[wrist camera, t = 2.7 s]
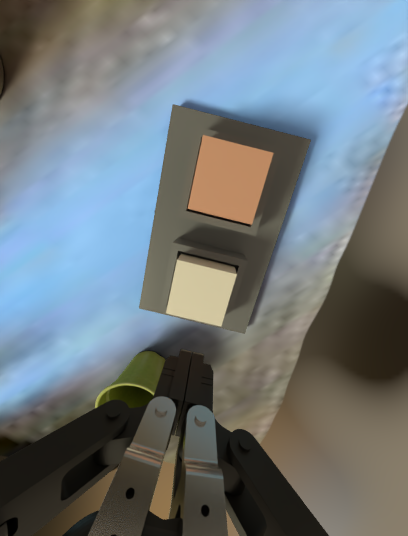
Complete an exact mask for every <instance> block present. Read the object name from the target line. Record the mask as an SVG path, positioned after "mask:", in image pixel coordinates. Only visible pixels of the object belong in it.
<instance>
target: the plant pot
mask: <svg viewBox="0 0 408 536" xmlns="http://www.w3.org/2000/svg"><path fill="white" fill-rule="evenodd" d="M164 363H165V359H164V358H163V357H161V356H159V355H158V354H157V353H156V352H153V351H144V352H141V353H139V354H137V355H136V356H135V357H134V358H133V360H132V361H131V362H130V363H129V365H128V366H127V367H126V369H125V370H124V371H123V372H122V374H121V375H120V376H119V377H118V379H117V380H116V381H115V382H113V383H112V384H111V385H110V386H108V387H106V388H105V389H104V390H103V391H102V392H101V393H100V394H99V396H98V397H97V400H96V403H95V408H97V407H99V406H100V405H102V404H104V403H106V402H108V401H110V400H122V401H124V402H125V403H126V404H127V405H128V407H129V408H135V407H141V406H144V405H146V404H148V403H149V402H150V401H151V400H152V398H153V396H154V393H155V390H156V387H157V384H158V381H159V378H160V375H161V372H162V369H163V366H164Z"/></svg>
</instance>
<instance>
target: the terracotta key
mask: <svg viewBox="0 0 408 536" xmlns="http://www.w3.org/2000/svg"><path fill="white" fill-rule="evenodd" d="M272 157H273V153H272V152H268V151H264V150H260V149H256V148H252V147H249V146H245V145H241V144H237V143H233V142H229V141H225V140H221V139H217V138H213V137H209V136H205V135H203V137H202V142H201V147H200V152H199V156H198V161H197V166H196V171H195V176H194V180H193V185H192V190H191V195H190V200H189V204H188V209H191V210H195V211H199V212H203V213H207V214H211V215H215V216H219V217H223V218H227V219H231V220H235V221H239V222H243V223H247V224H251V225H252V223H253V220H254V216H255V213H256V210H257V206H258V203H259V200H260V196H261V193H262V190H263V187H264V183H265V180H266V177H267V173H268V170H269V167H270V163H271V160H272Z"/></svg>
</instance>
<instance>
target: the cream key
mask: <svg viewBox="0 0 408 536" xmlns="http://www.w3.org/2000/svg"><path fill="white" fill-rule="evenodd" d="M236 276H237V273H236V270H235V267H234V266H230V265H226V264H222V263H218V262H214V261H210V260H206V259H202V258H197V257H193V256H189V255H185V254H181V255H180V256H179V258H178V259H177V262H176V267H175V272H174V277H173V281H172V286H171V291H170V296H169V301H168V305H167V310H166V314H171V315H175V316H179V317H183V318H187V319H191V320H195V321H200V322H204V323H208V324H212V325H216V326H220V327H221V326H222V322H223V319H224V316H225V312H226V309H227V306H228V302H229V299H230V296H231V292H232V289H233V286H234V283H235V279H236Z"/></svg>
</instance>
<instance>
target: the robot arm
mask: <svg viewBox="0 0 408 536" xmlns="http://www.w3.org/2000/svg"><path fill="white" fill-rule="evenodd" d="M3 81H4V73H3V65H2V61H1V58H0V95H1V92H2V88H3ZM191 353H192V356H191ZM203 358H204V354H200V353H196V352H191V351H187V350H183V349H181V350H180V354H179V357H175V356H169V357H168V358H167V359H166V360H165V363H164V366H163V369H162V372H161V375H160V378H159V381H158V384H157V387H156V390H155V393H154V396H153V398H152V400H151V401H150V402H149V403H148V404H146V405H144V406H141V407H135V408H129V407H128V405H127V404H126V403H125V402H124V401H122V400H110V401H108V402H106V403H104V404H102V405H100V406H99V407H97V408H95V409H93V410H92V411H90V412H88V413H86V414H84V415H83V416H81V417H79V418H77V419H75V420H74V421H72V422H70V423H68V424H67V425H65V426H63V427H61V428H59V429H58V430H56V431H54V432H52V433H50V434H49V435H47V436H45V437H43V438H42V439H40V440H38V441H36V442H34V443H33V444H31V445H29V446H27V447H25V448H24V449H22V450H20V451H18V452H17V453H15V454H13V455H11V456H9V457H8V458H6V459H4V460H2V461H1V462H0V536H32V535H33V534H35V533H36V532H37V531H38V530H39V529H41V528H42V527H43V526H44V525H46V524H47V523H48V522H49V521H50V520H52V519H53V518H54V517H55V516H57V515H58V514H59V513H60V512H61V511H63V510H64V509H65V508H66V507H67V506H69V505H70V504H71V503H72V502H74V501H75V500H76V499H77V498H79V497H80V496H81V495H82V494H83V493H85V492H86V491H87V490H88V489H89V488H91V487H92V486H93V485H94V484H95V483H97V482H98V481H99V480H100V479H102V478H103V477H104V476H105V475H107V474H108V473H109V472H110V471H111V470H113V469H114V468H115V467H116V466H117V465H118V464H119V463H120V465H119V467H118V469H117V472H116V474H115V476H114V478H113V480H112V483H111V485H110V487H109V490H108V492H107V494H106V496H105V498H104V501H103V503H102V505H101V507H100V510H99V511H96V512H94V513H92V514H89V515H88V516H86V517H84V518H83V519H82V520H80V521H79V522H77V523H76V524H75V525H73V526H72V527H71V528H70V529H69V530H68V531H67V532H66V533H65V534H64V535H63V536H228V530H227V518H226V511H227V512H228V514H229V516H230V518H231V520H232V522H233V524H234V526H235V528H236V530H237V532H238V534H239V535H240V536H329V535H328V534H327V533H326V531H325V530H324V529H323V527H322V526H321V525H320V524H319V522H318V521H317V519H316V518H315V517H314V516H313V514H312V513H311V512H310V510H309V509H308V508H307V506H306V505H305V504H304V502H303V501H302V500H301V498H300V497H299V496H298V494H297V493H296V492H295V490H294V489H293V488H292V487H291V485H290V484H289V483H288V481H287V480H286V479H285V477H284V476H283V475H282V474H281V472H280V471H279V469H278V468H277V467H276V465H275V464H274V463H273V461H272V460H271V459H270V458H269V456H268V455H267V454H266V452H265V451H264V450H263V448H262V447H261V446H260V444H259V443H258V442H257V440H256V439H255V438H254V437H253V435H252V434H250V433H249V432H248V431H246V430H243V429H237V430H234V431H233V432H230V431H229V430H227V429H225V428H224V427H222V426H221V425H220V424H219V423H218V422H217V421H216V419H215V417H214V415H213V370H212V368H211V366H210V365H208V364H204V363H203ZM177 423H178V424H177ZM176 426H177V430H176ZM175 430H176V435H175V436H180V438H179V444H178V448H177V452H176V459H175V470H174V480H173V490H172V500H171V508H170V513H169V519H167V520H163V519H161V518H159V517H158V516H156V515H154V514H153V513H151V512H150V511H149V510H150V506H151V502H152V499H153V495H154V491H155V488H156V484H157V481H158V477H159V473H160V469H161V466H162V463H163V459H164V455H165V452H166V450H167V448H168V445H169V442H170V438H171V435H174V434H175Z"/></svg>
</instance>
